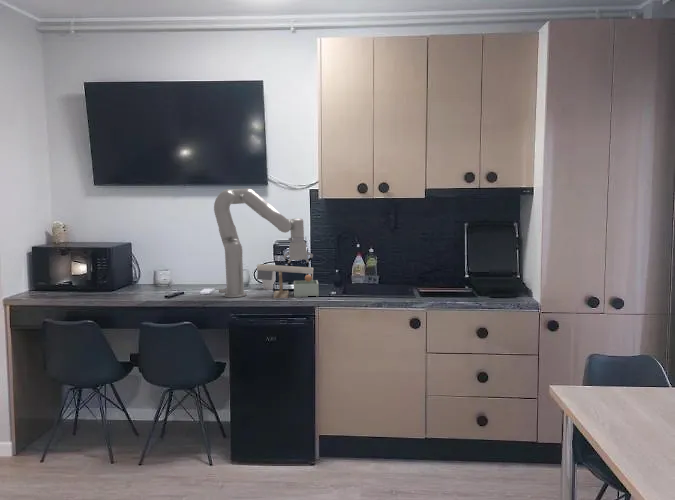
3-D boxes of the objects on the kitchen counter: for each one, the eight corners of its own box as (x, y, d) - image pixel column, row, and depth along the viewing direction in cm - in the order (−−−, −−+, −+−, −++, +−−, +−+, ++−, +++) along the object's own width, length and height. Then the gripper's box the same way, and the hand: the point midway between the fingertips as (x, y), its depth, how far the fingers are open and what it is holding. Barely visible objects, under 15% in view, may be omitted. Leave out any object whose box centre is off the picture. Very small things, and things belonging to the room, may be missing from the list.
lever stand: (273, 298, 332) (272, 272, 331) (274, 293, 346) (273, 268, 345) (288, 297, 333) (287, 271, 331) (288, 293, 347) (287, 268, 345)
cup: (294, 297, 333) (293, 284, 333) (294, 293, 347) (293, 280, 346) (318, 296, 334) (318, 283, 334) (317, 292, 348) (317, 280, 347)
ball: (310, 283, 338) (303, 280, 338) (309, 282, 342) (303, 279, 342) (313, 276, 338) (306, 274, 337) (312, 275, 342) (306, 273, 341)
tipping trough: (256, 279, 334) (257, 265, 334) (257, 274, 351) (258, 261, 350) (312, 282, 337) (313, 269, 336) (311, 278, 353) (312, 265, 353)
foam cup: (257, 289, 362) (256, 267, 361) (266, 287, 370) (265, 265, 369) (271, 290, 358) (270, 268, 356) (279, 287, 366) (278, 266, 364)
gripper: (282, 241, 343) (283, 271, 345) (312, 239, 344) (313, 269, 346) (282, 240, 350) (283, 269, 352) (312, 238, 351) (313, 267, 353)
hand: (298, 269), depth 349 cm, fingers open, 9 cm apart
